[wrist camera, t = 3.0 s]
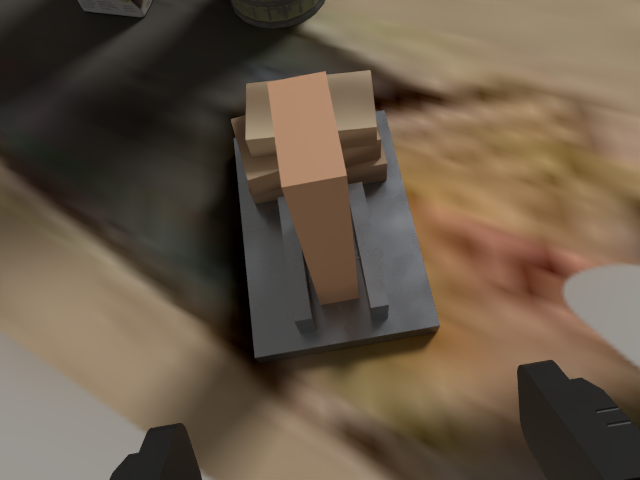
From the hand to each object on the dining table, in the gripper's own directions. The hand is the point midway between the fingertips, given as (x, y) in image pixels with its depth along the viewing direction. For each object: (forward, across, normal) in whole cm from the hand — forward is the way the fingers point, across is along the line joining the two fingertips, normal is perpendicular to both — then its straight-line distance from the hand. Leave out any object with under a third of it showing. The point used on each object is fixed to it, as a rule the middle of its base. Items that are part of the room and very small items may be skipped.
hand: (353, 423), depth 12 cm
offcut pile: (+25, 0, -1) cm, 25 cm away
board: (+20, 0, +4) cm, 20 cm away
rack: (+23, 0, +3) cm, 23 cm away
